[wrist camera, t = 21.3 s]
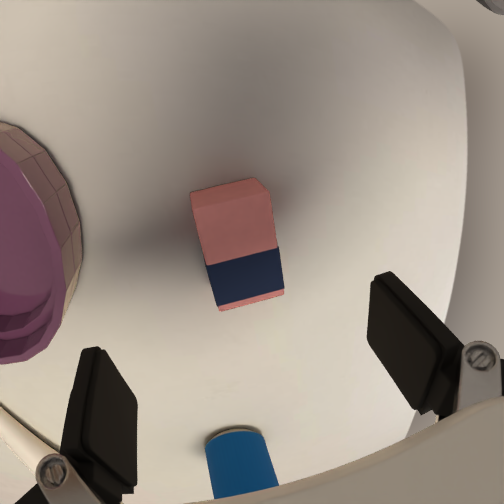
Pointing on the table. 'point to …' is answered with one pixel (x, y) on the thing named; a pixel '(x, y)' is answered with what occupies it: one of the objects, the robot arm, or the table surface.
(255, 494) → the robot arm
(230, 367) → the table surface
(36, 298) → the bowl
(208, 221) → the eraser
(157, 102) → the table surface
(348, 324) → the table surface
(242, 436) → the beverage can
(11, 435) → the long cone
